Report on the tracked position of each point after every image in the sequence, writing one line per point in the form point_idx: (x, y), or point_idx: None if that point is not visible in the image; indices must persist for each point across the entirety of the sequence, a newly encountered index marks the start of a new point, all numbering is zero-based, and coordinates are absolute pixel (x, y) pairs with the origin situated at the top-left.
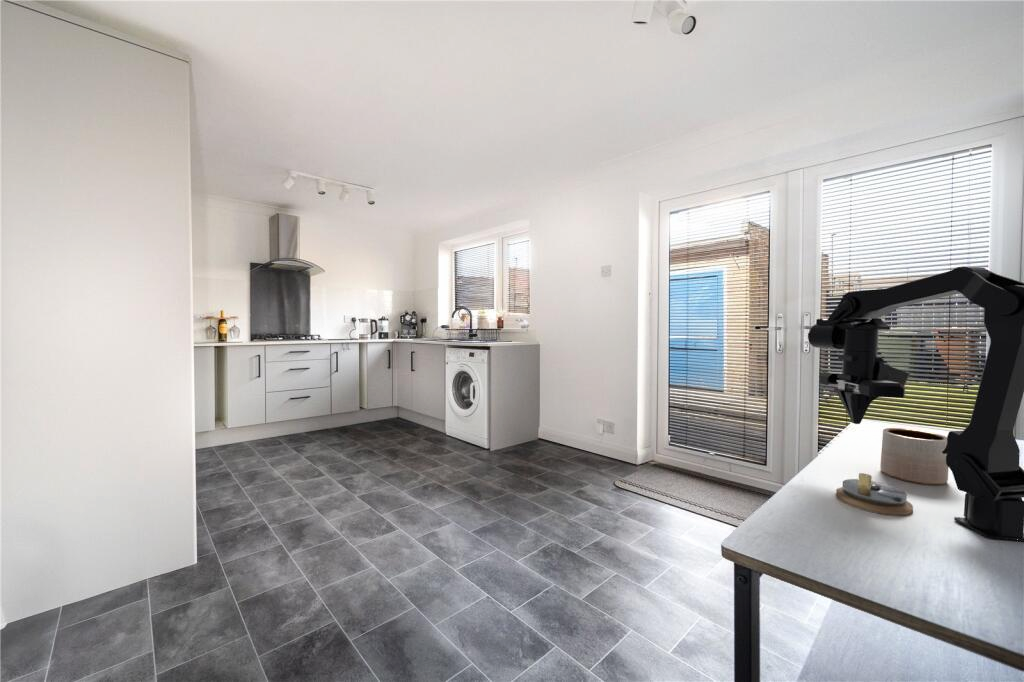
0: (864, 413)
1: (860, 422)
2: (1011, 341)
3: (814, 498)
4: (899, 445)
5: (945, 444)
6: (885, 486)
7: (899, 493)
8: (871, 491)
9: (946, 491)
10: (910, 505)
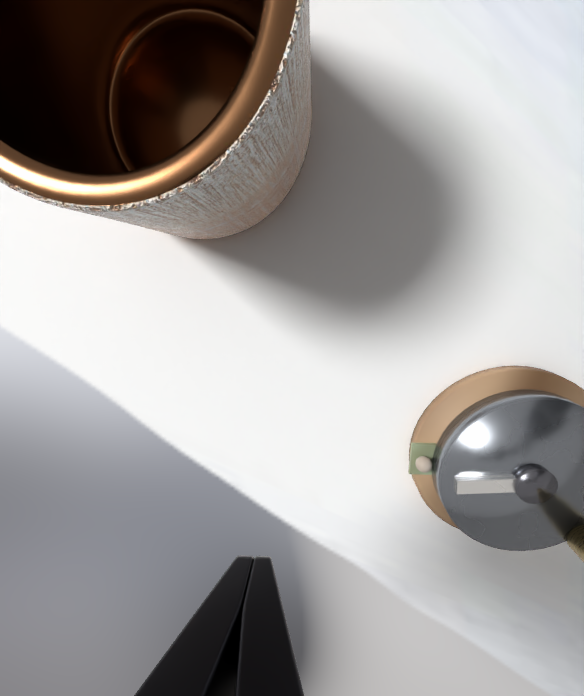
0: (295, 665)
1: (271, 565)
2: None
3: (480, 580)
4: (222, 195)
5: None
6: (512, 431)
7: (580, 429)
8: (561, 504)
9: (367, 108)
10: (567, 386)
